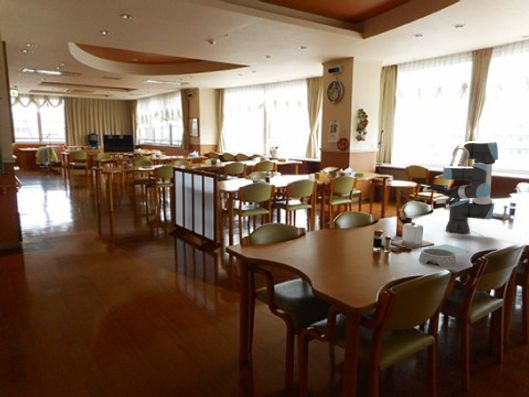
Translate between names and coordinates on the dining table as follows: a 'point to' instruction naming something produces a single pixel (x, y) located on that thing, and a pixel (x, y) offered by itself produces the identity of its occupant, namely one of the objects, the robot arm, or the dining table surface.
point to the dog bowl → (438, 257)
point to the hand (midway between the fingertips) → (430, 195)
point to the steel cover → (412, 234)
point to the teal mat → (450, 248)
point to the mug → (401, 225)
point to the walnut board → (409, 246)
